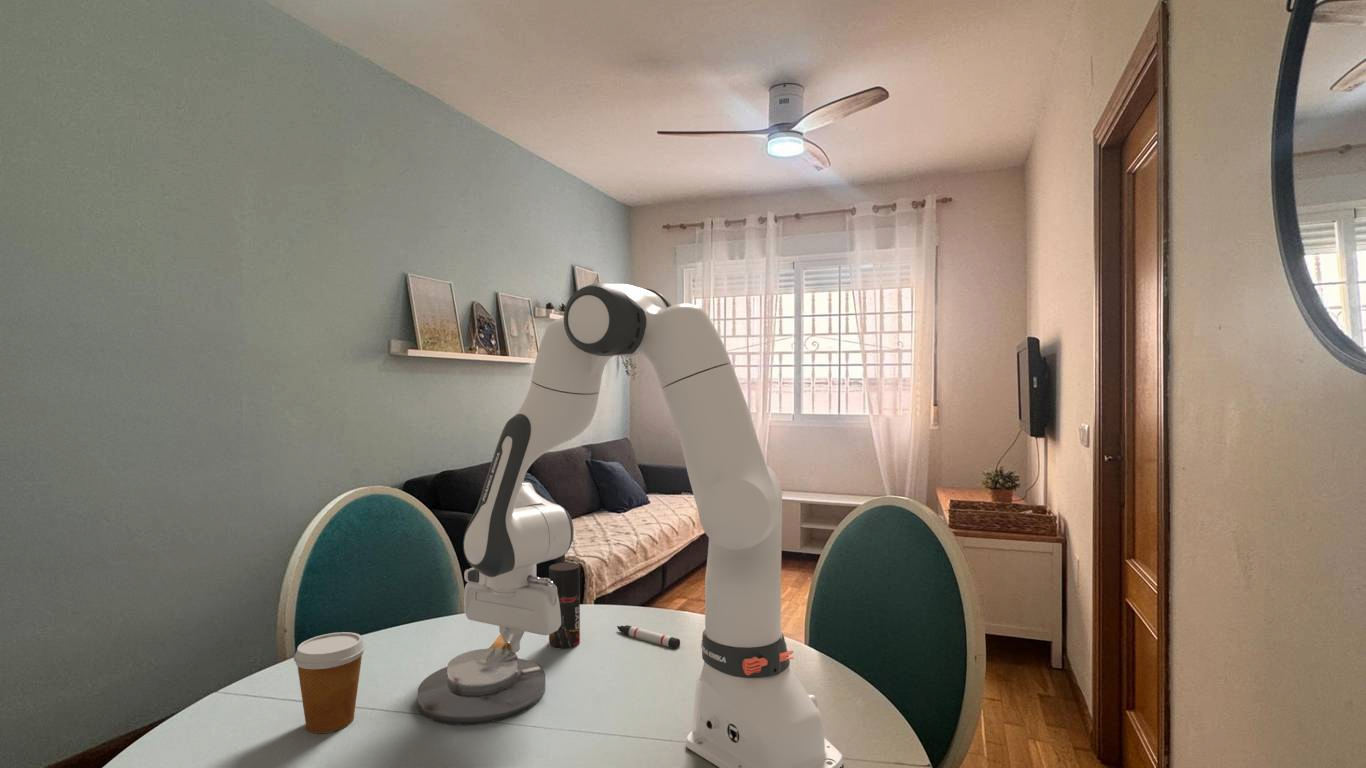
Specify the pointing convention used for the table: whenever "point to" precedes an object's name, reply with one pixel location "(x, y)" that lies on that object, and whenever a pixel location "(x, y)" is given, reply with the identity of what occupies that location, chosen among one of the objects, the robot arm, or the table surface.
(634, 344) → the robot arm
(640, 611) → the table surface
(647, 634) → the marker
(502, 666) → the dial
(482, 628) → the table surface
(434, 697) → the plate
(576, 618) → the deodorant
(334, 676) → the disposable coffee cup
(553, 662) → the table surface
